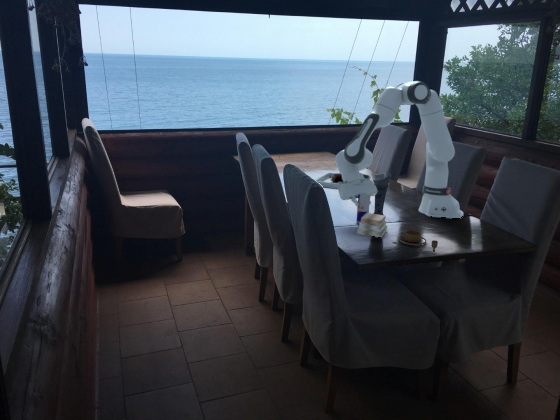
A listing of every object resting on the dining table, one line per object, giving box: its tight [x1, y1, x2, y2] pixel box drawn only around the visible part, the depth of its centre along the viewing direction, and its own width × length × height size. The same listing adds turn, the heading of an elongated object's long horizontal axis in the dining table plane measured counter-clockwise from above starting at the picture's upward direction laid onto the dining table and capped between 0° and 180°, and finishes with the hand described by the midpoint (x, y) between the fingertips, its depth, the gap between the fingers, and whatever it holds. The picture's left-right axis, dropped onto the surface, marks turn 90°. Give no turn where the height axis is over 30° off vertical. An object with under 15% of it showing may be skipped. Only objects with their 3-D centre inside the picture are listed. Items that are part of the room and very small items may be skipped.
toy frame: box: [315, 171, 338, 190], centre depth 313 cm, size 28×28×3 cm
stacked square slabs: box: [356, 212, 388, 238], centre depth 224 cm, size 11×11×8 cm
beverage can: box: [355, 192, 371, 225], centre depth 235 cm, size 6×6×15 cm
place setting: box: [397, 229, 439, 253], centre depth 210 cm, size 18×20×6 cm
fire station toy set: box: [329, 172, 344, 183], centre depth 309 cm, size 14×20×11 cm
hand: (363, 204), depth 234 cm, fingers open, 5 cm apart
